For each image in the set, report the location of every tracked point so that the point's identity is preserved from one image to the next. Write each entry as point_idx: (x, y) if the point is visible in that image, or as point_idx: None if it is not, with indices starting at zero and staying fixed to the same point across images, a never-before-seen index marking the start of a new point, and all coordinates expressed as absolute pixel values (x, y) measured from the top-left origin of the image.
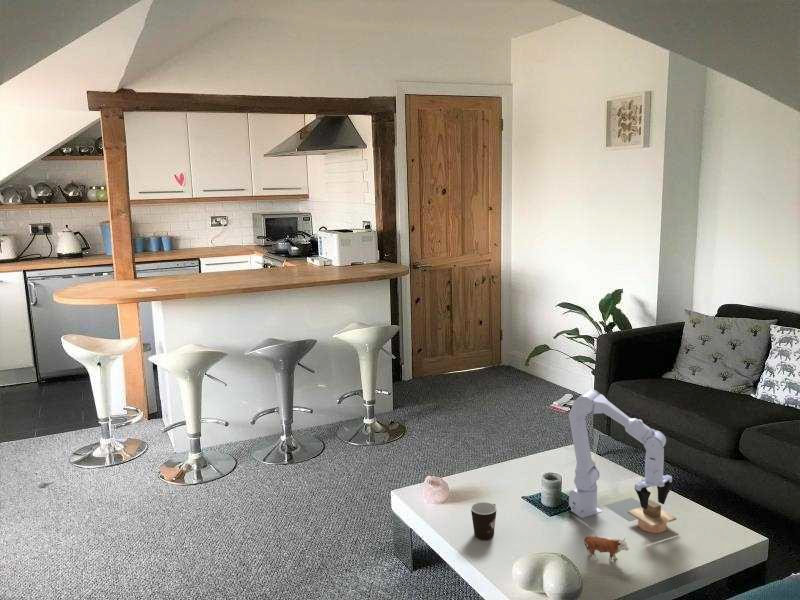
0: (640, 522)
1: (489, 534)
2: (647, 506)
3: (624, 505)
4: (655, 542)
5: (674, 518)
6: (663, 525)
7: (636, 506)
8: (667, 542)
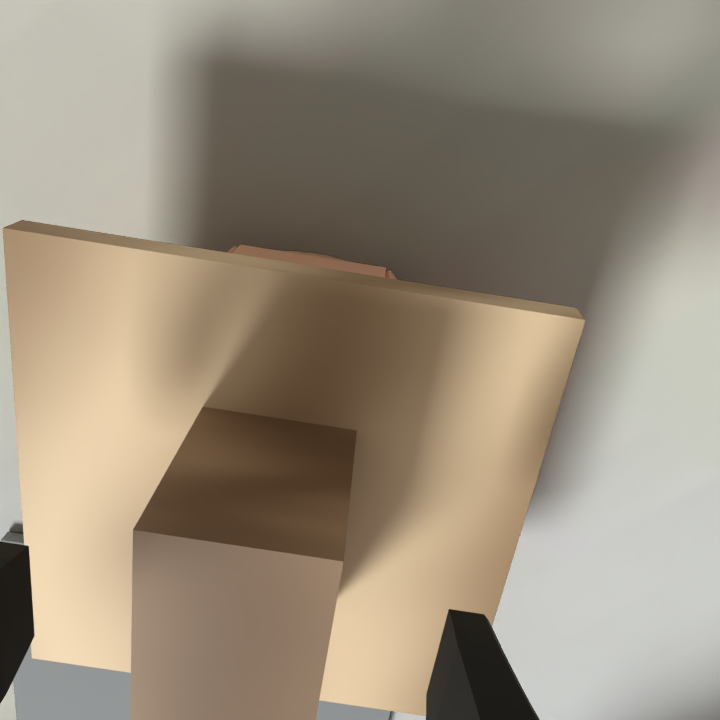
0: None
1: None
2: (461, 646)
3: None
4: (589, 152)
5: (50, 234)
6: None
7: (110, 710)
8: (461, 48)
